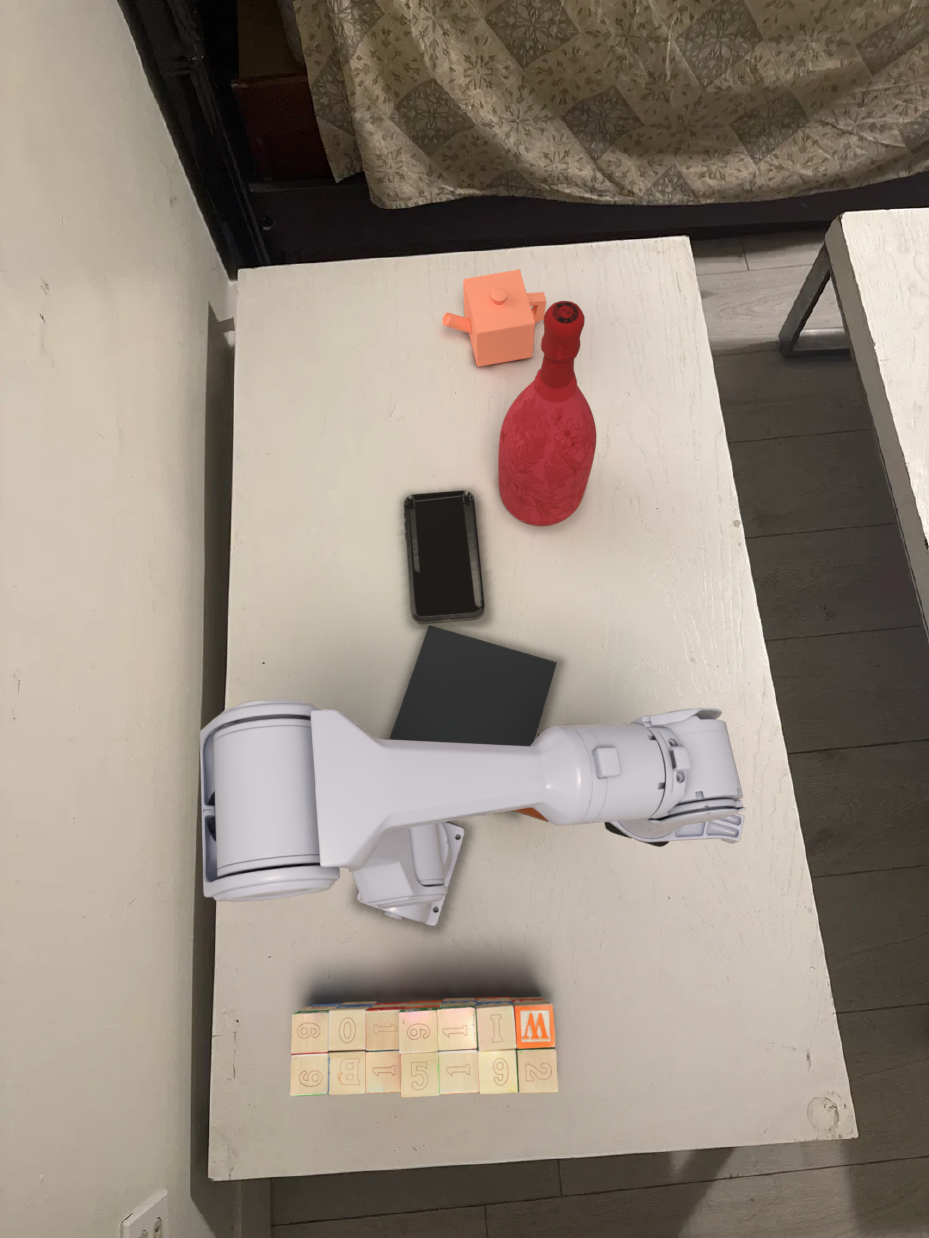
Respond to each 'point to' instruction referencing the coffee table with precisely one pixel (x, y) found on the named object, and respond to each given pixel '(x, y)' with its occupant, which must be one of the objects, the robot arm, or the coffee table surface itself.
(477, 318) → the pink cube teapot
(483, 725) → the mat
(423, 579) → the phone
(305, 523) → the coffee table surface
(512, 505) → the wine bottle
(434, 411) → the coffee table surface
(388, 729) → the coffee table surface
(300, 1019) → the stack of blocks
